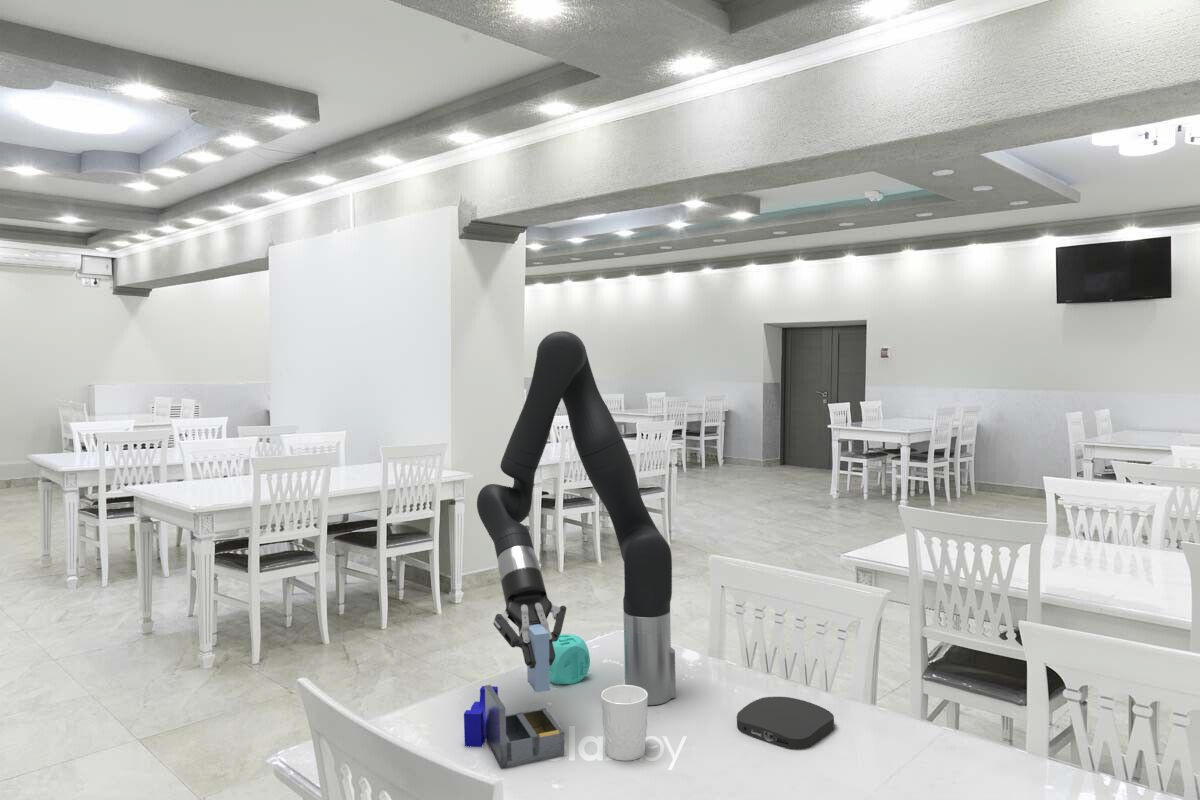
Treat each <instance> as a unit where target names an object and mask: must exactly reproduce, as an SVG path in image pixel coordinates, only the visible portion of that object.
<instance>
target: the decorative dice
mask: <svg viewBox="0 0 1200 800" xmlns="http://www.w3.org/2000/svg"><path fill="white" fill-rule="evenodd" d="M552 643H553V647H554V651H555V659H554V661H553V663H552V665H551V666H550V683H551V682H552V683H551V684H553V683H556V684H555V685H559V684H568V685H573V684H577V683H579V682H580V681H582V680H583V679H584V678H585V677H586V675H587V674H588V672H589V670H590V666H591V658H590V657H591V656H590V651H589V648H588V645H587V643H586V642H585V640H584V639H583V638H582V637H581V636H579V635H575V634H569V633H568V634H565V633H564V634H562V633H561V634H560V635H559V638H558V640H557V641H556V642H552Z"/></svg>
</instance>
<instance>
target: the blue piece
mask: <svg viewBox="0 0 1200 800" xmlns="http://www.w3.org/2000/svg"><path fill="white" fill-rule="evenodd" d="M491 686H492V685H491ZM492 688H493V689H494V691H495V693H496V694H497V696H498V697H499V687H498V686H492ZM463 727H464V729H463V732H464V737H463V738H464V747H465V746H469V747H468V748H482V747H483V746H484V744H485V742H486V711H485V685H482V686H481V687H480V689H479V701H474V702H473V703H472V705H471V706H470V709H466V710H465V711H464V713H463ZM483 743H484V744H483ZM482 745H483V746H482ZM470 746H471V747H470Z"/></svg>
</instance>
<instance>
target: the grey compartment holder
mask: <svg viewBox="0 0 1200 800" xmlns="http://www.w3.org/2000/svg"><path fill="white" fill-rule="evenodd" d="M484 686H485V711H486V740H485V742H486V743H487V745H488V747H489V749H490V751H491V753H492V755H493V757H494V758H495V760H496V762H497V765H498V766H499V767H500V770H502V769H506V768H507V769H508V768H511V767H512V768H513V767H516V766H520V765H526V764H531V763H535V762H541V761H545V760H550V759H555V758H560V757H565V756H566V755H565V754H566V753H565V750H566V749H565V732H564V731H563V729H562V728H561V726H560V725H559V724H558V722H557V721H556V720H555V719H554V717H553V716H552V715H551V713H550V712H549V711H548V709H547V708H545V707H544V708H539V709H533V710H529V711H523V712H522V711H521V712H517V713H512V714H506V707H505V705H504V703H503V702H502V700H501V699H500V697H499V695H498V696H497V694H496V693H495V691H494V689H493V688H492V685H491V684H485V685H484Z"/></svg>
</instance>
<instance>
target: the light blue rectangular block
mask: <svg viewBox="0 0 1200 800" xmlns="http://www.w3.org/2000/svg"><path fill="white" fill-rule="evenodd" d="M529 635H530V643H531V644H532V648H533V653H534V657H535V660H536V665H535V667H534V668H532V669H530V667H529V666H527V665H526V666H527V668H526V669H527V672H526V675H527V677H526V678H527V683H528V684H529V686H530V687H531V688H532V690H533V691H534V693H542V692H547V691H551V684H550V683H551V682H550V666H549V632H548V631H547V630H546V629H545V628H544V627H543V626H541V625H540V624H535V625H529Z"/></svg>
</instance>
